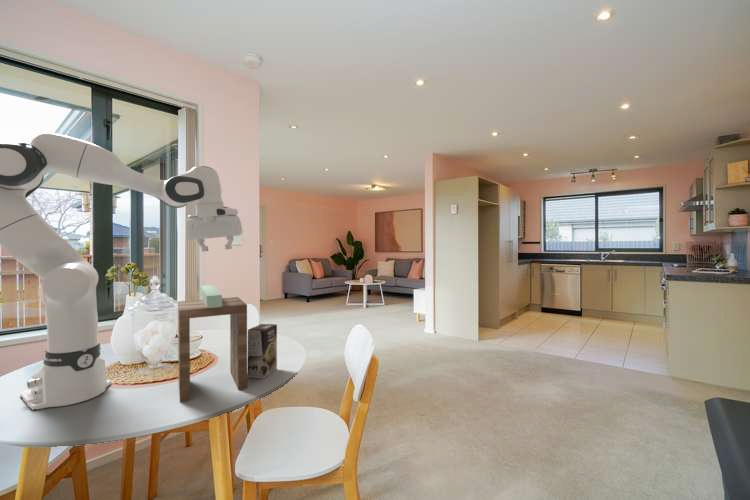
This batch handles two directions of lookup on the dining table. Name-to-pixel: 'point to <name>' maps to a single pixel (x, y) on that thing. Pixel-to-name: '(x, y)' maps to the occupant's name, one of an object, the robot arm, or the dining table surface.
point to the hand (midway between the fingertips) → (217, 250)
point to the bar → (211, 296)
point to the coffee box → (262, 350)
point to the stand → (237, 339)
